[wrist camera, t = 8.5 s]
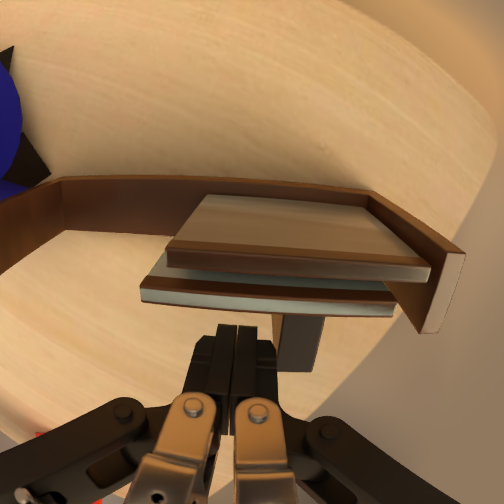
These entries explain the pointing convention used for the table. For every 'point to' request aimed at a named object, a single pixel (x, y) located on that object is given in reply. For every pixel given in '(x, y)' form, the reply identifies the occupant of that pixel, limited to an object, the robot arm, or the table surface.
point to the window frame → (250, 231)
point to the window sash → (272, 303)
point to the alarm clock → (15, 140)
